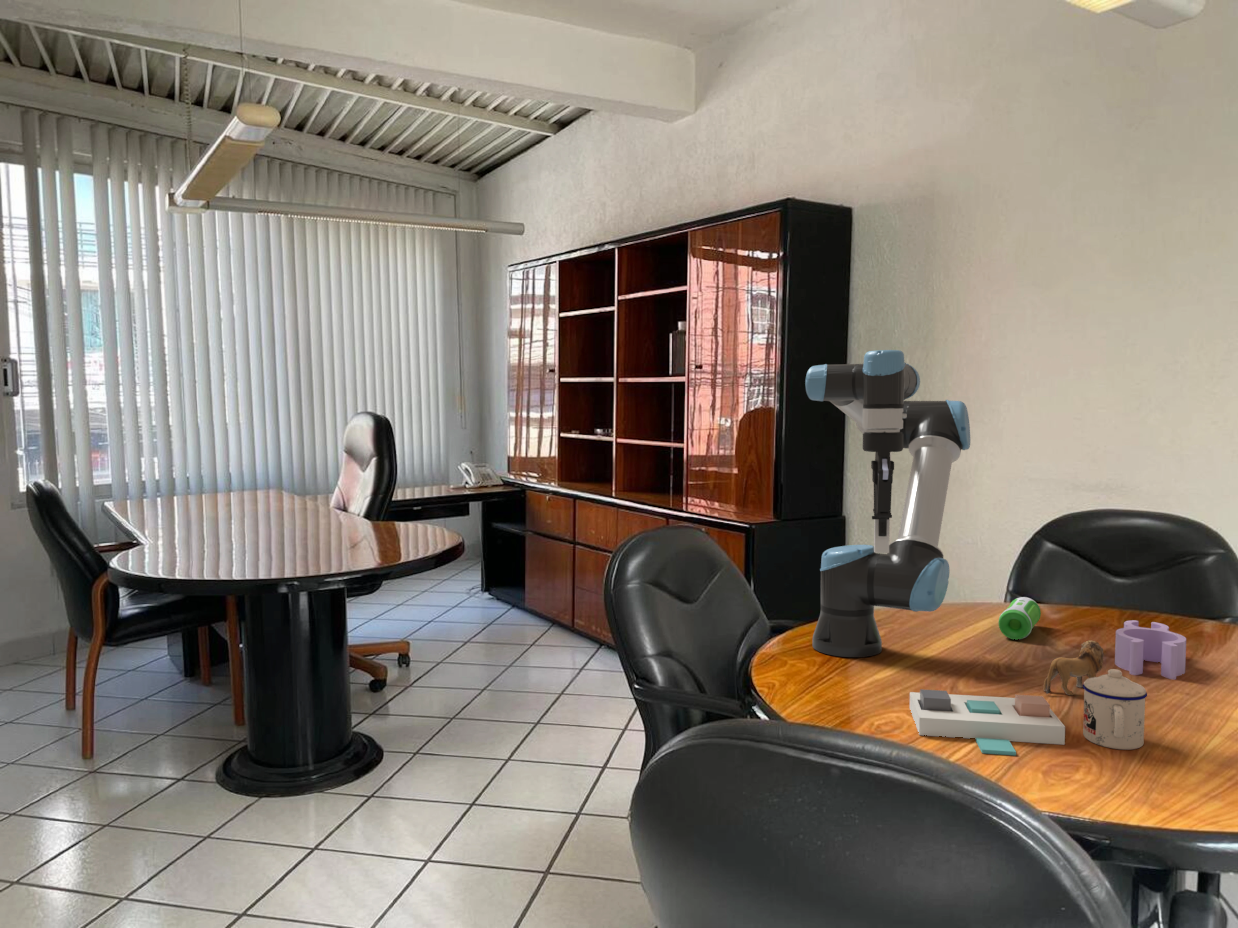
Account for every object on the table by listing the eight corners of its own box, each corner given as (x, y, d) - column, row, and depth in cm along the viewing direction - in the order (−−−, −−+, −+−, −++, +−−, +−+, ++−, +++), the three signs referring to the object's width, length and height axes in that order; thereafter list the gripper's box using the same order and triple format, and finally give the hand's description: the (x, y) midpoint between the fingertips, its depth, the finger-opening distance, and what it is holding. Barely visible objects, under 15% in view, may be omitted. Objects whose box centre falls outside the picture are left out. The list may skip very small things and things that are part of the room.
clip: (1111, 648, 194) (1112, 618, 194) (1176, 655, 189) (1177, 624, 188) (1117, 673, 176) (1118, 640, 176) (1189, 682, 171) (1191, 647, 170)
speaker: (1009, 623, 217) (1010, 593, 217) (1041, 627, 213) (1042, 596, 213) (996, 639, 202) (997, 607, 202) (1030, 644, 198) (1031, 611, 198)
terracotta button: (1014, 712, 150) (1015, 694, 149) (1042, 714, 149) (1042, 695, 148) (1021, 721, 145) (1021, 703, 145) (1049, 723, 144) (1049, 704, 144)
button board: (909, 708, 157) (909, 691, 157) (1042, 715, 153) (1042, 699, 153) (919, 734, 145) (919, 717, 144) (1064, 744, 140) (1065, 726, 140)
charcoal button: (919, 706, 153) (920, 689, 153) (946, 708, 152) (946, 690, 152) (923, 715, 148) (923, 697, 148) (950, 717, 148) (950, 699, 147)
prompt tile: (975, 740, 142) (975, 737, 142) (1008, 743, 141) (1008, 739, 141) (982, 753, 137) (982, 749, 137) (1016, 755, 136) (1016, 751, 136)
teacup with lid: (1079, 726, 148) (1081, 659, 147) (1140, 734, 144) (1143, 665, 143) (1085, 752, 137) (1087, 680, 136) (1152, 761, 133) (1155, 687, 132)
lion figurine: (1084, 680, 172) (1085, 636, 171) (1110, 688, 167) (1111, 642, 167) (1034, 692, 165) (1036, 646, 165) (1060, 701, 161) (1061, 653, 160)
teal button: (966, 717, 151) (966, 699, 151) (993, 719, 150) (993, 701, 150) (971, 726, 147) (971, 708, 147) (999, 728, 146) (999, 710, 146)
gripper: (907, 432, 160) (905, 558, 161) (899, 429, 172) (897, 547, 174) (865, 432, 161) (864, 557, 163) (860, 429, 174) (859, 546, 176)
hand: (881, 552), depth 169 cm, fingers closed
